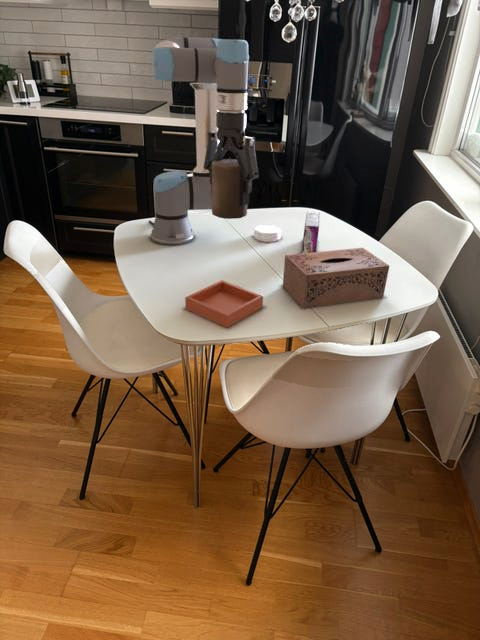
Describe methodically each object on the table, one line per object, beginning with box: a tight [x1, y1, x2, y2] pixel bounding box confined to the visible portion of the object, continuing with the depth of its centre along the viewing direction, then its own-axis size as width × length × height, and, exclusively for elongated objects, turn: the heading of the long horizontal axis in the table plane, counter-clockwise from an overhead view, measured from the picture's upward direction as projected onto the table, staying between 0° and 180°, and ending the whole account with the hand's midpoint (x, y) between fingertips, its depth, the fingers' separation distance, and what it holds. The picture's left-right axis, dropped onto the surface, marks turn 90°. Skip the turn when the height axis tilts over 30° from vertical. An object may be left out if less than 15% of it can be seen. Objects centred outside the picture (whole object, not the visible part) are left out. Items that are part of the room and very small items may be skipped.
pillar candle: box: [211, 157, 248, 220], centre depth 129 cm, size 10×10×15 cm
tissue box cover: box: [282, 247, 390, 309], centre depth 141 cm, size 26×14×10 cm, turn 108°
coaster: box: [253, 224, 282, 243], centre depth 181 cm, size 10×10×4 cm
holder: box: [184, 279, 264, 328], centre depth 132 cm, size 15×15×4 cm
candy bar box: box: [301, 211, 321, 254], centre depth 171 cm, size 11×5×16 cm
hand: (229, 200), depth 131 cm, fingers closed on pillar candle, 10 cm apart
